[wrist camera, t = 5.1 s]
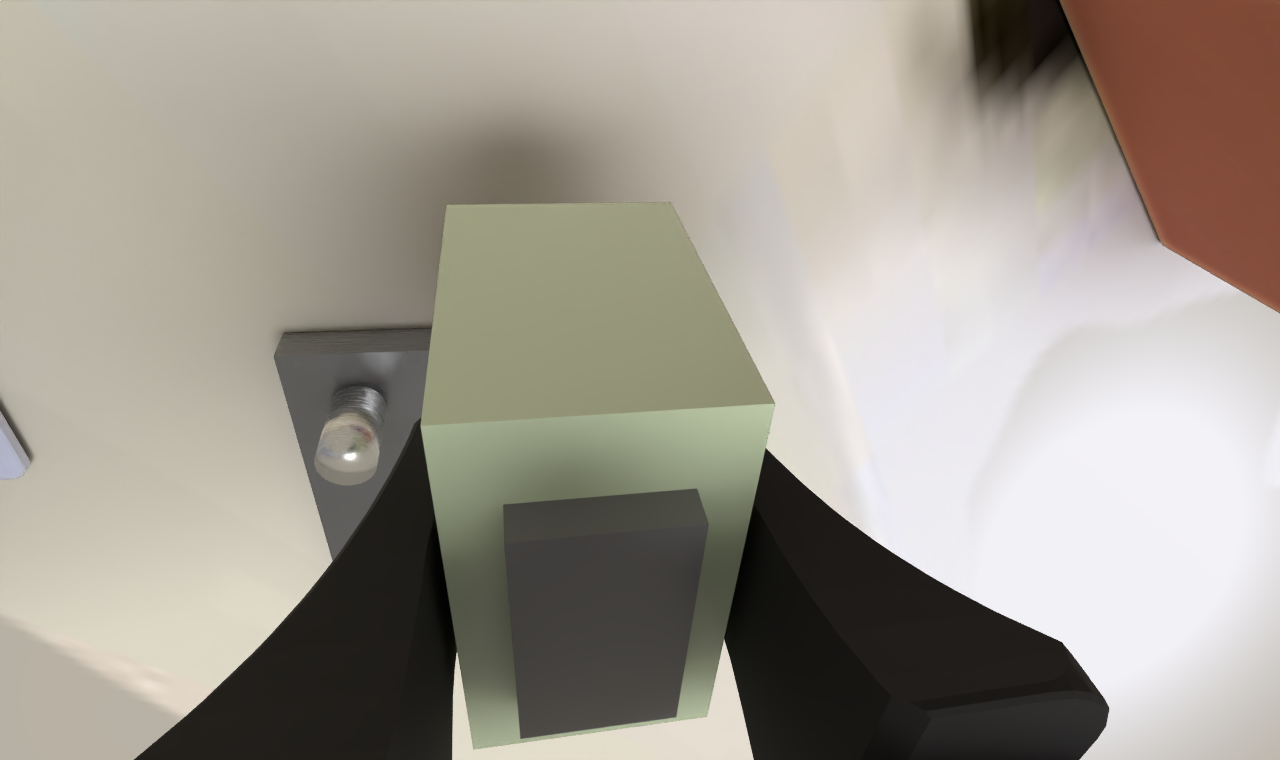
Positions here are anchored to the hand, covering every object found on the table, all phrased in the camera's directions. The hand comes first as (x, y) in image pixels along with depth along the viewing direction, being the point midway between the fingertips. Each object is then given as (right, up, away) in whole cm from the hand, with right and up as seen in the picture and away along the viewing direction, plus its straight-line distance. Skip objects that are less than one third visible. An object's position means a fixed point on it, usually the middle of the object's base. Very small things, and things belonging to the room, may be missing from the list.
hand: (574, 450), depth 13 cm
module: (0, +2, +2) cm, 3 cm away
